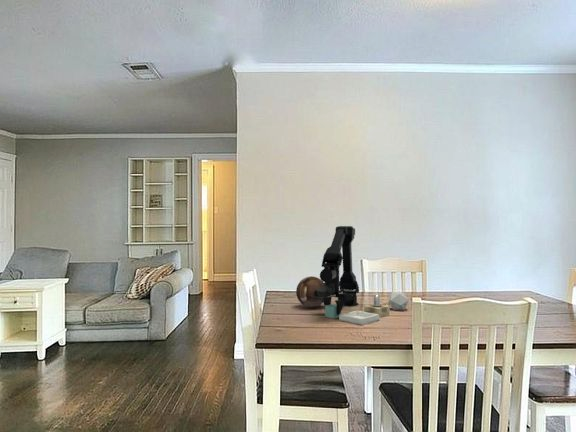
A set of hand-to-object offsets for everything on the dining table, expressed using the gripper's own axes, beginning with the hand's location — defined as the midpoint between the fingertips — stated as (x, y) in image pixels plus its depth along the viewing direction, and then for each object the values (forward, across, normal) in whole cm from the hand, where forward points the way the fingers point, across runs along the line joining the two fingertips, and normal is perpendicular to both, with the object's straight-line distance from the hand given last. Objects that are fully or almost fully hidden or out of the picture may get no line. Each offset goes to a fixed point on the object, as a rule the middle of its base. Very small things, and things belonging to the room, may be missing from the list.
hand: (333, 314), depth 209 cm
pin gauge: (+1, +12, +16) cm, 20 cm away
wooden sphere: (+1, -21, +8) cm, 23 cm away
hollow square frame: (+1, +12, +16) cm, 20 cm away
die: (+1, +12, +33) cm, 35 cm away
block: (+1, 0, 0) cm, 1 cm away
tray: (+1, +13, +2) cm, 13 cm away
